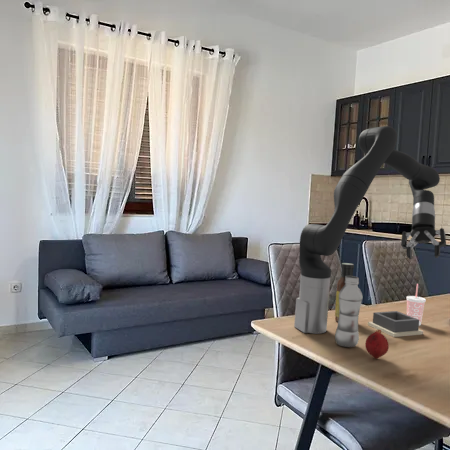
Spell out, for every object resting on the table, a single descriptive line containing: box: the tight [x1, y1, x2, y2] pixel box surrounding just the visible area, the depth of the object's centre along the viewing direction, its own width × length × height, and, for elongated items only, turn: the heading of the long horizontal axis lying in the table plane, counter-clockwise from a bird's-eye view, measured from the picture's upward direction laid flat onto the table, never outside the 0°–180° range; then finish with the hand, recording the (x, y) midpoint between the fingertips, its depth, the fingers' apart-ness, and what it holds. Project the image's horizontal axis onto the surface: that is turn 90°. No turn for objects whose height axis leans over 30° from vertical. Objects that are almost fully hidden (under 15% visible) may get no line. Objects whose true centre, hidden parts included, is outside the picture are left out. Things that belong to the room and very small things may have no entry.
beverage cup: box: [405, 283, 427, 326], centre depth 150 cm, size 6×6×14 cm
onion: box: [364, 329, 390, 360], centre depth 116 cm, size 6×6×8 cm
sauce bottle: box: [334, 262, 355, 323], centre depth 148 cm, size 7×6×20 cm
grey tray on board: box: [367, 310, 424, 338], centre depth 143 cm, size 12×12×4 cm
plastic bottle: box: [334, 275, 363, 348], centre depth 124 cm, size 6×7×20 cm
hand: (422, 257), depth 151 cm, fingers open, 8 cm apart
